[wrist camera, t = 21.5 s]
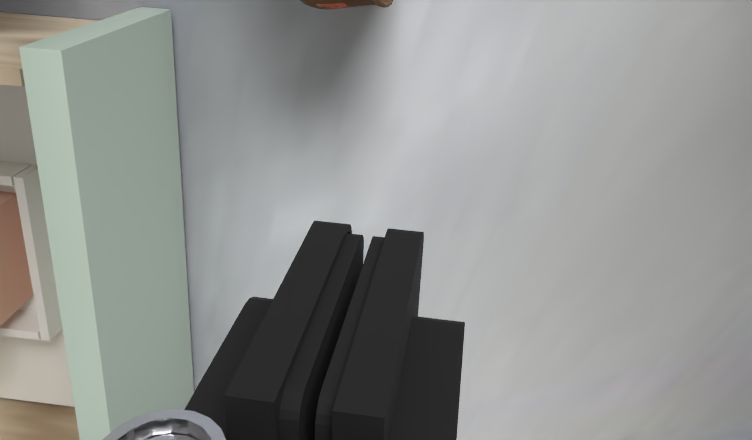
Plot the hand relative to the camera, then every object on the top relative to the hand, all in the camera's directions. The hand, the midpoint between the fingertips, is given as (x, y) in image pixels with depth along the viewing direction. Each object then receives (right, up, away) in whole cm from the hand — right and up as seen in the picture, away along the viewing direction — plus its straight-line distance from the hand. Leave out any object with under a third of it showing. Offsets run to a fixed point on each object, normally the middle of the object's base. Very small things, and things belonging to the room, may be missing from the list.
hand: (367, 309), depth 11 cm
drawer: (-15, +1, +20) cm, 25 cm away
